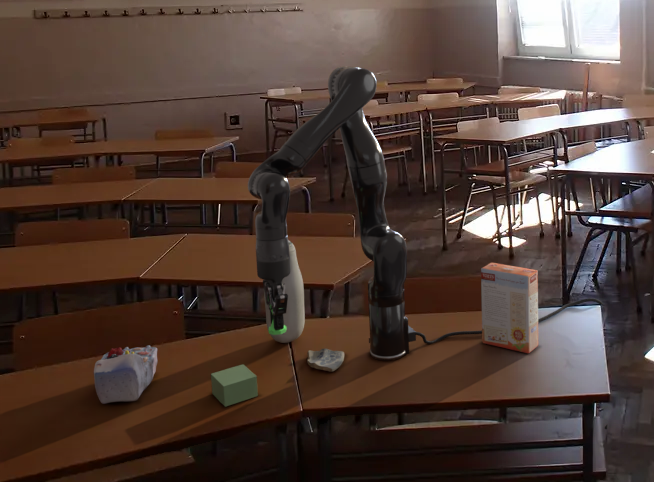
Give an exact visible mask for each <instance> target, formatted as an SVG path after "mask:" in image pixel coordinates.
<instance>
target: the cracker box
mask: <svg viewBox="0 0 654 482" xmlns="http://www.w3.org/2000/svg"><path fill="white" fill-rule="evenodd" d="M538 271H539V270H537V269H532V268H526V267H520V266H513V265H509V264H503V263H496V262H489V263H487V264H486V265H485V266H483V267H481V268H480V279H481V280H480V282H481V283H480V287H481V289H480V290H481V294H480V295H481V296H480V297H481V331H482V334H481V340H482V344H485V345H486V344H487V345H490V346H493V347H497V348H503V349H507V350H512V351H515V352H521V353H524V354H530V353H531V352H533V351H534V350H535V349H537V348H538V347H539V323H538V319H539V280H538V279H539V275H538Z"/></svg>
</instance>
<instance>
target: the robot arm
mask: <svg viewBox="0 0 654 482" xmlns="http://www.w3.org/2000/svg"><path fill="white" fill-rule="evenodd" d="M377 85H378V84H377V79H376V76H375V75H374V73H373V72H372V71H370V70H369V69H367V68H365V67H359V66H345V65H344V66H338V67H336V68H334V69H333V70H332V71H331V73H330V75H329V77H328V81H327V89H328V95H329V98H330V103H328V104H327V105H326V106H325V107H324V108H323V109H322V110H321V111H319V112H318V113H316V114H315V115H314V116H312V117H311V118H309V119H308V120H306V121H305V122H304V123H303V124H302V125H300V126H299V127H298V128H297V129H296V130H295V131H294V132H293V133H292V134H291V135H290V136H289V137H288V139H287V140H286V141H285V142H284V143H283V144H282V145H281V147H280V148H279V149H278V150H277V151H276V152H275V153H273V154H272V155H271V156H269V157H268V158H267V159H266V160H264V161H263V162H261V164H259V165H258V166H257V167H256V168H255V169H254V170H253V171H252V173H251V174H250V176H249V178H248V181H247V190H248V192H249V194H250V195H251V196H253V197H254V198H255V199H258V200H261V211H259V212H257V214H256V215H255V219H254V227H255V259H256V261H255V262H256V273H257V277H258V278H259V279H260V280H262V284H263V285H262V286H263V292H264V291H265V297H266V304H267V305H268V308H269V310H270V320H271V324H272V321H273V323H274V329H275V330H280V329H283V328H284V319H283V314H285V313H286V310H287V301H288V295H287V294H285V290H286V289H285V283H283V281H282V280H283V278H285V277H287V276H288V275H289V274H290V272H291V270H290V253H289V242H288V240H289V238H288V225H287V215H288V211H289V206H290V199H291V187H290V183H289V179H288V178H287V177H289V176H290V175H291V174H297V173H299V172H301V171H302V170H303V169H304V168H305V167H306V166H307V165H308V164H309V163H310V161H311V160H312V159H313V158H314V156H315V155H316V154H317V153H318V151H320V149H321V148H322V147H323V146H324V144H326V142H327V141H328V140H329V139H330V138H331V137H332V136H333V135H334V134H335V133H336V132H337V131H338V130H339V132H340V135H341V142H342V146H343V150H344V155H345V160H346V161H345V162H346V165H347V171H348V175H349V181H350V184H351V188H352V193H353V198H354V202H355V207H356V212H357V216H358V217H357V218H358V227H359V237H360V245H361V250H362V252H363V254H364V255H365V257H366V258H367V259H369V260H370V261H372V262H373V275H372V276H371V277H370V278H369V279H368V280H367V296H368V297H367V298H368V299H367V301H368V322H369V323H368V324H369V338H368V344H369V345H370V346H369V347H370V348H369V353H370V354H369V355H370V357H371V358H373V359H375V360H377V361H388V362H389V361H395V360H399V359H401V358H403V357H404V356H406V355H408V354H410V343H412V342H416V341H417V336H419V337H421V338H422V341H423V343H424V344H425V345H433V344H435V343H437V342H440V341H443V340H444V339H446V338H450V337H453V336H462V335H465V336H466V335H482V330H463V331H462V330H461V331H452V332H448V333H445V334H443V335H441V336H439V337H438V338H436V339H434V340H427V338H426V337H427V336H426V335H425V334H424V333H422V332H419V331H415V330H414V328H412V327H411V326H410V325H409V319H408V318H409V317H407V316H406V306H405V305H406V303H405V302H406V301H405V282H406V280H407V275H408V247H407V243H406V239H405V238H404V237H403V235H402V234H400V233H399V232H397V231H395V230H393V229H391V228H390V225H389V222H388V220H387V214H386V210H385V195H386V190H387V185H388V173H387V172H388V171H387V167H386V163H385V157H384V154H383V151H382V147H381V146H380V144H379V142H378V140H377V138H376V137H375V135H374V133H373V132H372V130H371V128H370V126H369V124H368V123H367V120H366V118H365V117H366V116H365V114H364V109H363V108H364V107H365V106H366V105H367V104H368V103H370V101H371V100H372V99H373V98H374V97H375V95H376V92H377V88H378V86H377ZM587 302H593V303H596V304H599V305H604V303H603V302H602V301H601V300H599V299H597V298H594V297H593V298H592V297H588V298H583V299H580V300H576V301H573V302H569V303H567V304H564V305H562V306H560V307H559V308H558V309H556V310H554V311H552V312H551V313H548V314H547V315H544V316H542V317H540V318H538V324H539V323H541V322H543V321H545V320H548V319H549V318H551V317H553V316H555V315H557V314H559V313H561V312H562V311H564V310H565V309H567V308H570V307H574V306H577V305H579V304H583V303H587ZM279 308H281V309H279ZM271 310H272V311H273V312H272V311H271ZM272 313H273V314H272ZM608 425H609V424H608V423H607V424H606V425H605V426H604V430H609V429H608V428H609V427H608Z"/></svg>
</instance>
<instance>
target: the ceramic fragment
mask: <svg viewBox="0 0 654 482" xmlns="http://www.w3.org/2000/svg"><path fill="white" fill-rule="evenodd" d="M306 354H307V361H306V362H307V365H308V366H309V367H311V368H314V369H316V370H322V371H327V372H330V373H333V372H335V371H336V370H338V369H339V368H340V367H341V366H342V365H343V362H344V360H345V352H344V351H343V350H332V349H328V348H321V349H320V350H312V349H311V350H309V349H308V351H307V353H306Z"/></svg>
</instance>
